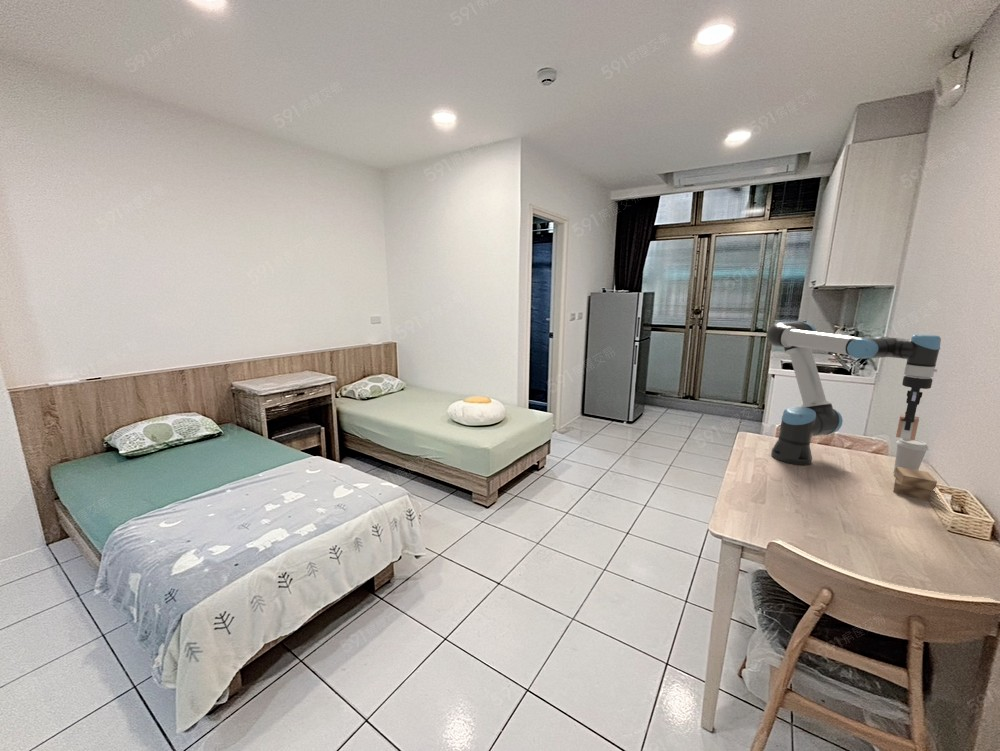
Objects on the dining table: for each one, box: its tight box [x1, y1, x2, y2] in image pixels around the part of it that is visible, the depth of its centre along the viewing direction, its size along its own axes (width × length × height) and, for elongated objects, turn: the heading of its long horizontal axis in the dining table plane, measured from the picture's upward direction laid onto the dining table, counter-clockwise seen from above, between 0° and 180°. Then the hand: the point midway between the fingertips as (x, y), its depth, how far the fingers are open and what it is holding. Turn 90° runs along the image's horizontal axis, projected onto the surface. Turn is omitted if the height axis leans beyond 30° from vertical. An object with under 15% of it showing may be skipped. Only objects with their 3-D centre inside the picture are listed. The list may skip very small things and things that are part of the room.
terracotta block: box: [895, 414, 920, 440], centre depth 152 cm, size 5×5×8 cm
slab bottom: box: [893, 478, 932, 502], centre depth 154 cm, size 10×10×4 cm
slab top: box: [893, 467, 938, 492], centre depth 153 cm, size 9×9×4 cm
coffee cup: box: [893, 438, 929, 473], centre depth 167 cm, size 10×10×15 cm
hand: (905, 436), depth 152 cm, fingers closed on terracotta block, 5 cm apart
